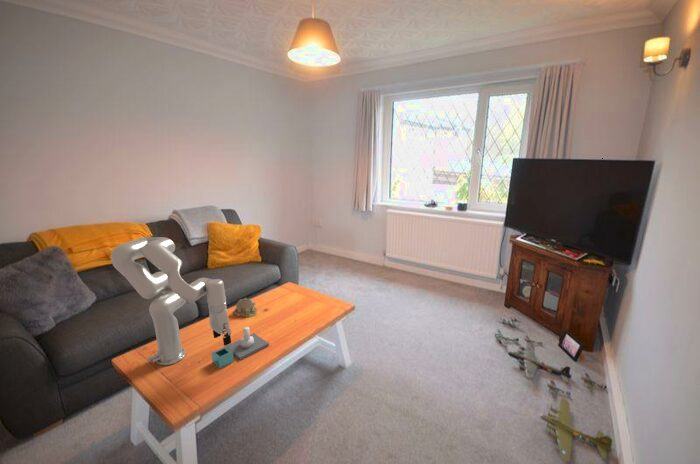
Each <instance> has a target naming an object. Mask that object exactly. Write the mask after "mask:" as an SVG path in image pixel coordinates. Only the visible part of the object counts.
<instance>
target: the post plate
mask: <svg viewBox="0 0 700 464" xmlns="http://www.w3.org/2000/svg"><path fill="white" fill-rule="evenodd" d="M242 335H243V337H241V338H240V339H237V340H236V341H233V342H231V343H230V344H228V345H226V347H227V348H228V349H230V350H231V351H232V352H233V357H236V358H237V359H238V360H239V361H242V360H245V358H248V357H250V356H251V355H254V354H256V353H258V352H260V351H261V350H264V349H265V348H267V347H270V343H269V342H268V341H266V340H265V339H264V338H262V337H260V336H259V335H257V334H256V333H250V327H249V326H245V327H243V328H242Z"/></svg>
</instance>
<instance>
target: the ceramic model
mask: <svg viewBox="0 0 700 464" xmlns="http://www.w3.org/2000/svg"><path fill="white" fill-rule="evenodd" d="M255 305H256V302H255V300H252V299H251V298H247V297H244V298H240V299H239V300H237V302H236V307H235V308H234V311H233V313H234V315H235V316H237V317H238V316H239V317H240V316H241V317H246V318H251V317H254V316H256V315H257V311H258V309H257V307H255Z"/></svg>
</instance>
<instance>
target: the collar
mask: <svg viewBox="0 0 700 464" xmlns="http://www.w3.org/2000/svg"><path fill="white" fill-rule="evenodd" d="M226 346H227V345H226ZM226 346H224V347H221V348H219V349H217V350H214V351H212V352H211V360H212V363H213V364H214V365H215V366H216V367H217V368H218V369H222V368H225V367H226V366H228V365H230V364H232V363H234V361H235V360H234V359H235V358H234V357H235V356H234V355H233V352H232V351H231V350H230V349H228V348H227V347H226Z"/></svg>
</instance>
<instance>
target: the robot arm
mask: <svg viewBox="0 0 700 464" xmlns="http://www.w3.org/2000/svg"><path fill="white" fill-rule="evenodd" d="M175 250H176V244H175V243H174V241H173V240H172V239H171V238H168V237H164V236H161V237H159V236H155V237H154V236H149V237H140V238H137V239H133V240H130V241H127V242H124V243H121V244H120V245H117V246H116V247H114V248H113V250H112V251H111V254H110V261H111V262H110V263H111V264H112V266H113V267H114V268H115V269H116V270H117V272H119V273H120V274H121V275H122V276H123V277H124V278H125V279H126V280H127V281H128V282H129V284H130V285H131V286H132V287H133V289H134V290H135V291H136V292H137V293H138V294H139V296H140V297H142V298H143V299H146V300H148V299H149V300H150V299H153V298H154V297H156V296H157V295H159V294H161V293H162V295H160V296H158V297H156V298H155V299H154V300H153V301H152V302H151V303H150V304H149V308H148V311H149V314H150V316H151V318H152V321H153V326H154V330H155V331H154V332H155V338H156V344H157V351H156V353H155V354H154V355H152V356H151V355H150V356H149V357H147V359H146V360H147V362H149V363H150V362H152V363H156V364H157V365H159V366H170V365H174V364H176V363H179V362H180V361H182V360H183V359H184V358H185V356H186V355H187V351H186V349H185V348H183V347H182V341H181V336H180V335H181V334H180V328H179V321H178V319H177V317H176V316H175V315H174V313H175V312H176V311H178V309H180V308H181V307H183V306H184V305H185V304H186V303H187V302H188V303H194V302H196V301H198V300H199V299H201V298H202V297H203V296H205V295H206V299H207V307H208V313H209V314H208V316H209V327H210V329H212V334H213V338H214V339H217V338H219V337H221V336H223V337H222V340H223V346H224V347H225V346H227V345H229V344H231V343H232V338H231V336H232V335H231V334H232V333H231V332H232V330H231V327H230V322H229V321H230V320H229V316H228V312H227V309H228V306H227V297H226V291H225V284H224V281H223V280H222V279H220V278H214V279H212V278H208V277H199V278H197V279H195V280H194V281H192V282H191V283H187V281H185V280H184V279H183V278H182V276H181V274H180V270H181V268H182V266H183V261H182V260H181V259H180V258H179V257H178V256H177V255H175V254H174V252H175ZM143 257H144V258H145V259H146V260H148V261H149V262H150V263H151V264H152V265H153V266H155V267H156V268H157V269H158V270H160V271H156V272H154V273H151V272H150V271H149V270H148V269H147V268H146V267H145V266H144V265H143V264H141V263H139V262H137V261H135V260H138V259H140V258H143ZM225 332H226V333H225Z"/></svg>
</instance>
